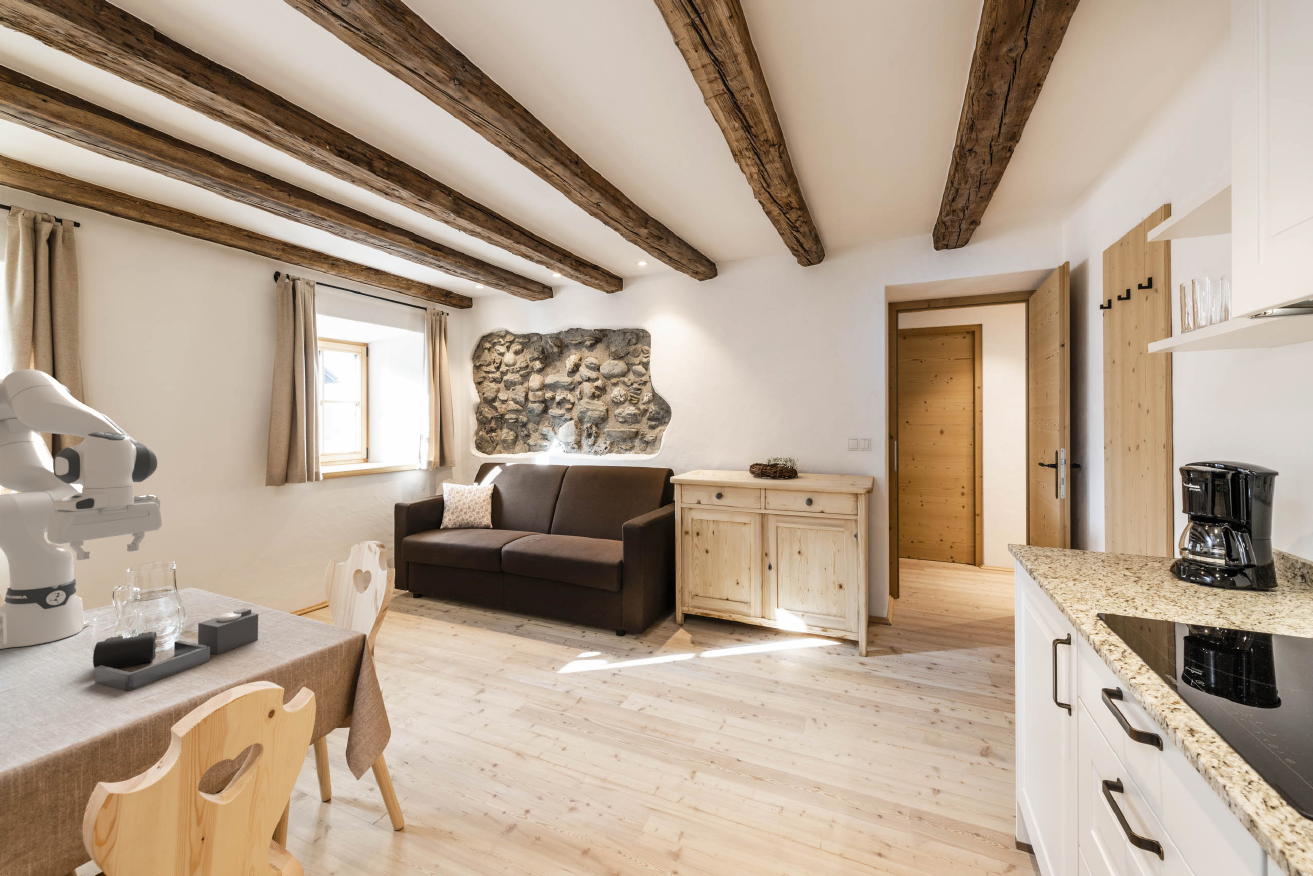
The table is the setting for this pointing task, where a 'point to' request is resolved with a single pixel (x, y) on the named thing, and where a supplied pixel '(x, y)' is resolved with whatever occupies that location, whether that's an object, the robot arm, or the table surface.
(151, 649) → the end cap
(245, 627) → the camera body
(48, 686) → the table surface
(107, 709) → the table surface
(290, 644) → the table surface
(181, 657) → the tray
